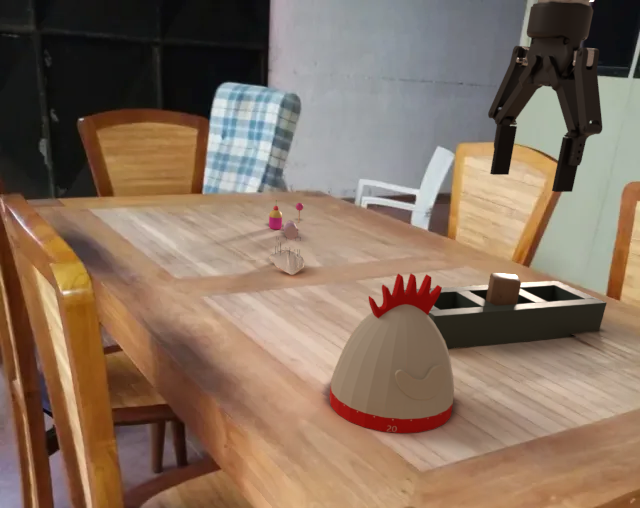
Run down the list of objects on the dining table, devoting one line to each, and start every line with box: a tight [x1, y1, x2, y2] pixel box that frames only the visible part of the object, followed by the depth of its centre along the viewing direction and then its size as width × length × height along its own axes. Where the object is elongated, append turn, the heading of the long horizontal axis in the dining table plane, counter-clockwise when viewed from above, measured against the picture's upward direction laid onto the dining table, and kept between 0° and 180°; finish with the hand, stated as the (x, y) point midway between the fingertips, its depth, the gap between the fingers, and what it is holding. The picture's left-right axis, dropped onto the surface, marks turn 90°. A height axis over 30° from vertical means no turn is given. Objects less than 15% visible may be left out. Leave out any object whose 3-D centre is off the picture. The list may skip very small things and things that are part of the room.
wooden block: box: [486, 272, 522, 306], centre depth 104 cm, size 4×4×8 cm
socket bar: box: [404, 280, 608, 350], centre depth 105 cm, size 11×30×5 cm, turn 113°
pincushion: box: [268, 237, 305, 276], centre depth 126 cm, size 12×6×6 cm, turn 11°
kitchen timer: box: [328, 273, 455, 434], centre depth 77 cm, size 14×14×15 cm
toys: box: [268, 199, 304, 240], centre depth 154 cm, size 18×8×6 cm, turn 6°
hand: (528, 182), depth 97 cm, fingers open, 13 cm apart
